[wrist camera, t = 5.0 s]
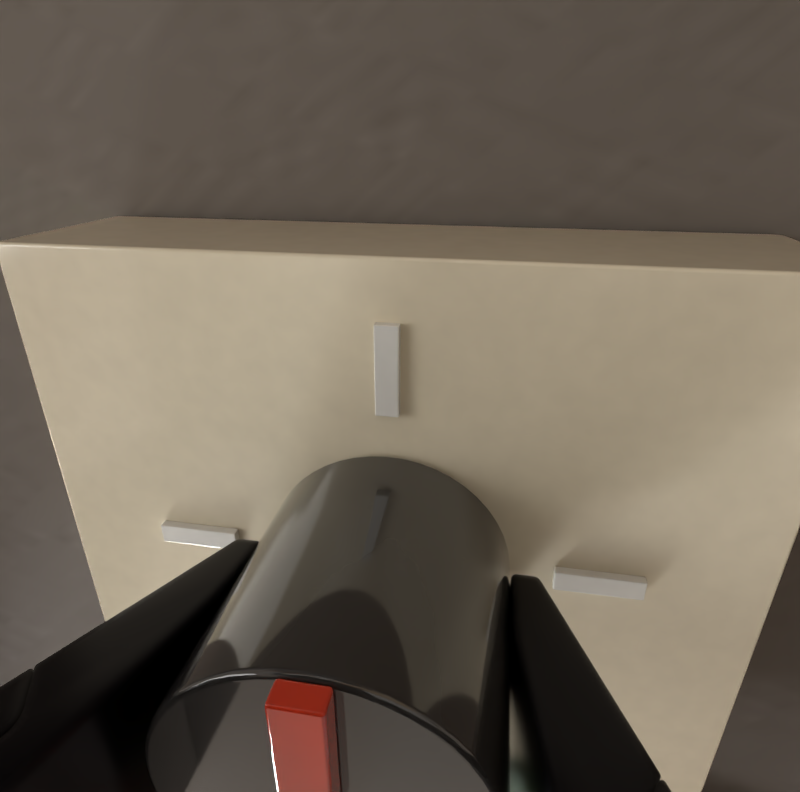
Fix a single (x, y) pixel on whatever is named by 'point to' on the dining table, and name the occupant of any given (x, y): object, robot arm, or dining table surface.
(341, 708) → the knob
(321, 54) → the dining table surface
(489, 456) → the cream dial base plate
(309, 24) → the dining table surface
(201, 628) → the robot arm
